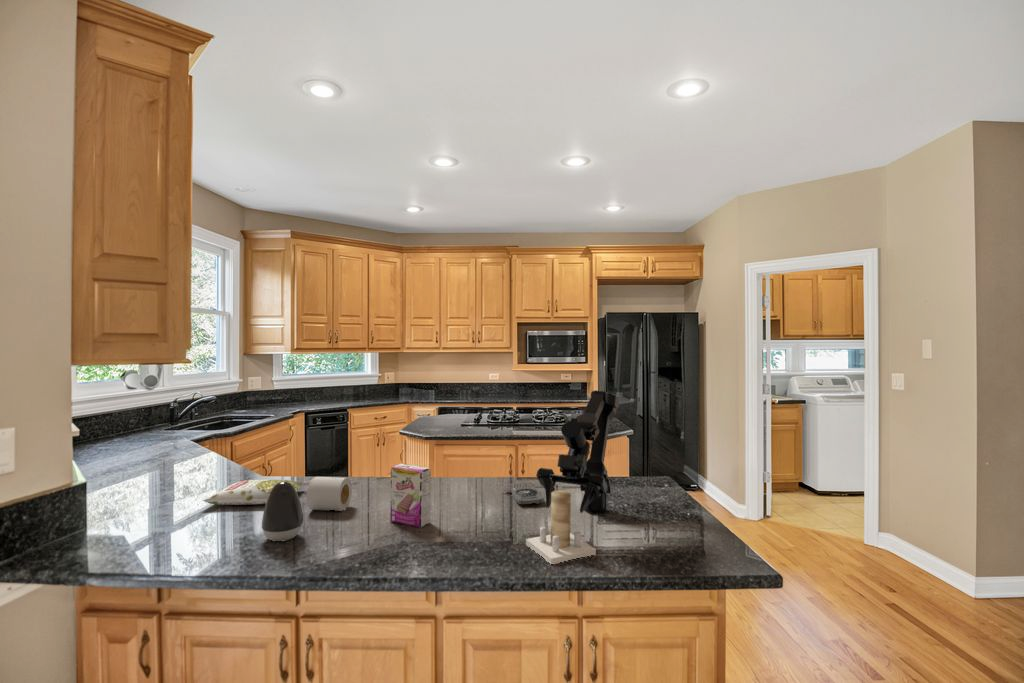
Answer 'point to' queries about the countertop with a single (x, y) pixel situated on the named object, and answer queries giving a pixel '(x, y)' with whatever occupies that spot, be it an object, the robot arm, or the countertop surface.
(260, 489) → the frozen beans
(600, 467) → the robot arm
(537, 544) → the pin plate
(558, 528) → the maple post
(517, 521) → the countertop surface
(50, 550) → the countertop surface
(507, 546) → the countertop surface
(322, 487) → the toilet paper
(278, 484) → the aroma diffuser
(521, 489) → the graphics card
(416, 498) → the candy bar box
